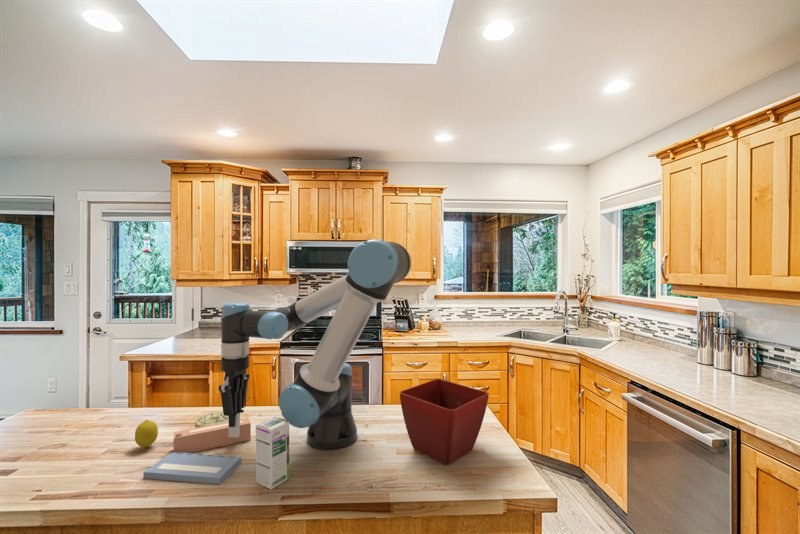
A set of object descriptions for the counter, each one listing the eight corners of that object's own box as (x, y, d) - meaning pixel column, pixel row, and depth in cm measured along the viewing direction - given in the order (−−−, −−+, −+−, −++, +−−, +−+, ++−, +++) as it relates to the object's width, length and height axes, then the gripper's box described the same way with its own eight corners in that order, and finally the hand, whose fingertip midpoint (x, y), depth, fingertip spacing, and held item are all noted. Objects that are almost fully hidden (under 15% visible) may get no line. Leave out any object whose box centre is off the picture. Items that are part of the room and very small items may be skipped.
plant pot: (489, 449, 110) (490, 392, 110) (451, 476, 96) (452, 410, 96) (437, 429, 123) (437, 377, 123) (396, 450, 109) (397, 392, 109)
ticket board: (241, 462, 101) (241, 456, 101) (219, 484, 91) (219, 477, 91) (172, 457, 103) (172, 451, 103) (143, 478, 93) (143, 471, 93)
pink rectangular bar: (248, 433, 118) (248, 416, 118) (250, 439, 114) (250, 422, 114) (173, 449, 108) (173, 430, 108) (173, 456, 104) (173, 437, 104)
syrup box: (271, 490, 89) (271, 429, 89) (254, 482, 92) (255, 423, 92) (289, 478, 94) (290, 421, 94) (274, 471, 97) (274, 415, 97)
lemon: (146, 453, 105) (146, 425, 105) (129, 451, 106) (129, 423, 106) (162, 444, 111) (162, 417, 111) (146, 442, 112) (146, 415, 112)
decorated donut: (234, 430, 121) (234, 418, 121) (197, 438, 115) (197, 426, 115) (228, 418, 130) (228, 407, 130) (193, 426, 123) (193, 414, 123)
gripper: (235, 350, 117) (233, 426, 117) (209, 360, 104) (208, 445, 104) (258, 351, 116) (256, 427, 116) (235, 361, 104) (234, 447, 104)
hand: (234, 436), depth 110 cm, fingers closed
